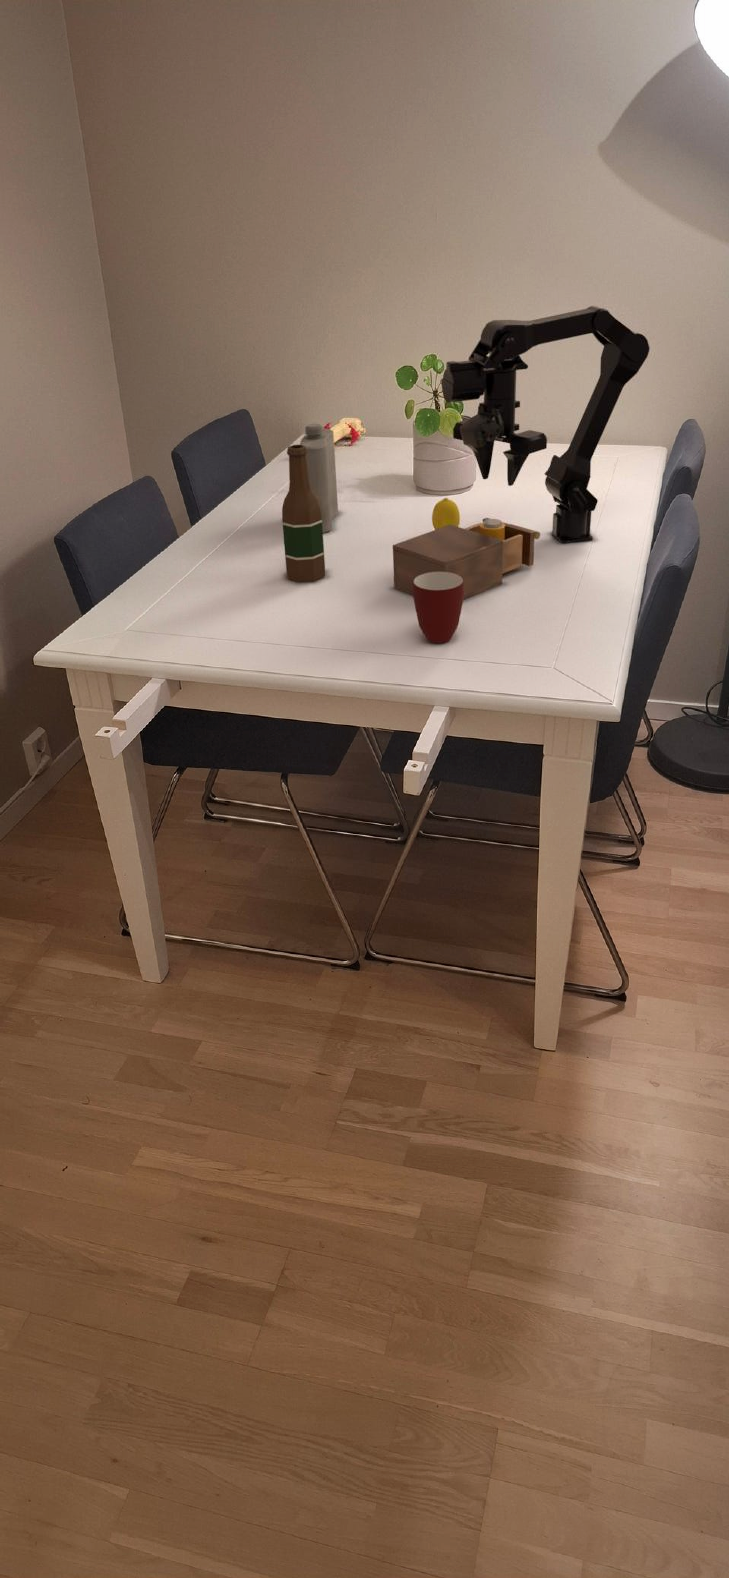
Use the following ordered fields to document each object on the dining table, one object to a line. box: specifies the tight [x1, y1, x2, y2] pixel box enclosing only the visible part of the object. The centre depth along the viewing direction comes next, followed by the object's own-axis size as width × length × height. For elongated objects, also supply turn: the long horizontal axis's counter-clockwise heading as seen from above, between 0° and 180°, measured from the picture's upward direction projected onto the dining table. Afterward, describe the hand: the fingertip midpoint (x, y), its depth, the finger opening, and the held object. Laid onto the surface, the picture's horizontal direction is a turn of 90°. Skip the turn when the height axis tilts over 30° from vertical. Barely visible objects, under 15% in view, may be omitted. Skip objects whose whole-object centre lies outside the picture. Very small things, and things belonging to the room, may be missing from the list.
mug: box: [412, 572, 464, 644], centre depth 177 cm, size 10×8×10 cm
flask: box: [299, 423, 339, 534], centre depth 226 cm, size 15×6×20 cm, turn 173°
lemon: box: [431, 497, 461, 530], centre depth 218 cm, size 6×6×8 cm
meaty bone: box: [323, 417, 367, 446], centre depth 279 cm, size 10×9×25 cm
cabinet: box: [392, 525, 503, 601], centre depth 196 cm, size 15×13×8 cm
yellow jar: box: [480, 518, 505, 540], centre depth 201 cm, size 5×5×7 cm
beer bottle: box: [281, 444, 326, 583], centre depth 199 cm, size 8×8×24 cm
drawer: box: [464, 517, 541, 575], centre depth 202 cm, size 18×12×6 cm, turn 132°
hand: (497, 482), depth 207 cm, fingers open, 6 cm apart
